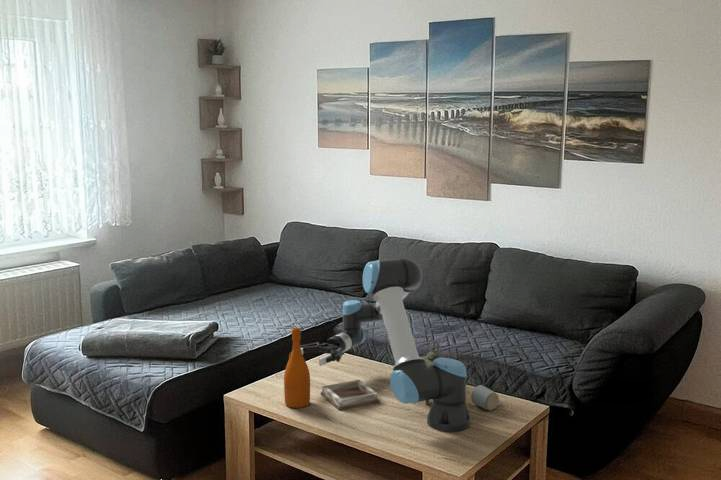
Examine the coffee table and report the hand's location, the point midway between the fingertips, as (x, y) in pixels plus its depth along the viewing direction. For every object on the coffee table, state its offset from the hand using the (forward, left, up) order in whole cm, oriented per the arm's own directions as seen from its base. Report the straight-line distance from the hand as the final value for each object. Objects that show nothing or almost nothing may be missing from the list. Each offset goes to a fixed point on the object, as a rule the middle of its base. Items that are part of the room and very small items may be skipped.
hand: (305, 359), depth 291 cm
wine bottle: (-3, +5, -16) cm, 17 cm away
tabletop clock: (-25, -41, -16) cm, 51 cm away
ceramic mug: (-37, -58, -16) cm, 71 cm away
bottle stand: (-7, -15, -16) cm, 23 cm away
